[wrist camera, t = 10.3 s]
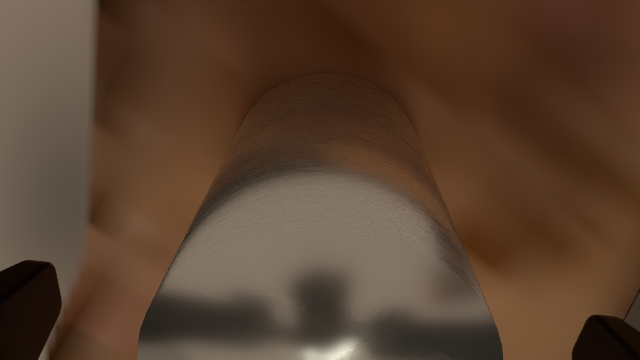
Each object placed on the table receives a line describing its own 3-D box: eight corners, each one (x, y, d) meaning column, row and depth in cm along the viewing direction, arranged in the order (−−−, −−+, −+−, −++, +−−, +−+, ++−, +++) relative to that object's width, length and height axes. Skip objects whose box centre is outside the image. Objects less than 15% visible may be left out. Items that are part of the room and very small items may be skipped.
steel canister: (401, 248, 14) (455, 499, 8) (233, 231, 14) (149, 471, 8) (437, 84, 12) (555, 251, 5) (235, 62, 12) (119, 208, 5)
